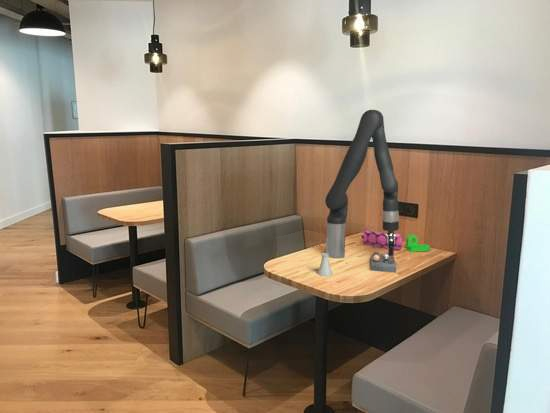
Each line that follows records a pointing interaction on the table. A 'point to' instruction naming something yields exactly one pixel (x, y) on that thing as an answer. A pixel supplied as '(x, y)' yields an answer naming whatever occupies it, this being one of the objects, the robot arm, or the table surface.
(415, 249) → the mechanical part
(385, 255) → the steel ball
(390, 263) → the grey ball holder tray
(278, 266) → the table surface
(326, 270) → the flask
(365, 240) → the pencil case
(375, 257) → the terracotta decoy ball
